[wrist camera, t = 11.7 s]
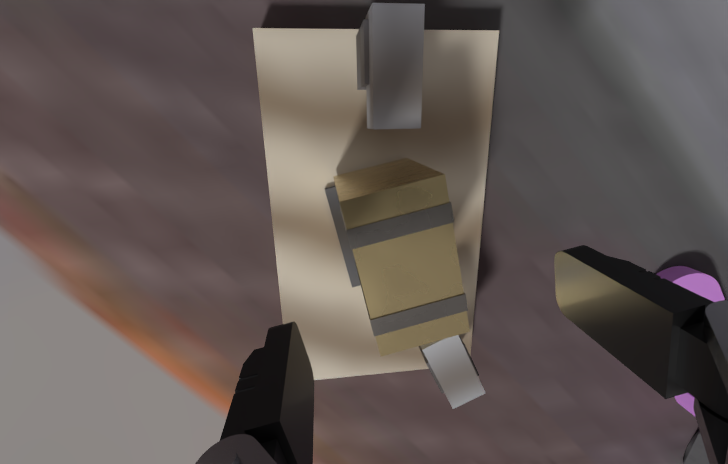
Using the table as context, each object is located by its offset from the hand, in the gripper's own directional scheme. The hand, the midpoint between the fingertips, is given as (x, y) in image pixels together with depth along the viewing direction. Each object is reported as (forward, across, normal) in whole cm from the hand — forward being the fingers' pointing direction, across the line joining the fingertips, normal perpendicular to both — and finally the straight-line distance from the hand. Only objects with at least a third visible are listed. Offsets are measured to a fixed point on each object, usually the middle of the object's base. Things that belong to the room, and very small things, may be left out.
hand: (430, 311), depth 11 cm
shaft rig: (+11, 0, 0) cm, 11 cm away
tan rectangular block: (+10, 0, 0) cm, 10 cm away
